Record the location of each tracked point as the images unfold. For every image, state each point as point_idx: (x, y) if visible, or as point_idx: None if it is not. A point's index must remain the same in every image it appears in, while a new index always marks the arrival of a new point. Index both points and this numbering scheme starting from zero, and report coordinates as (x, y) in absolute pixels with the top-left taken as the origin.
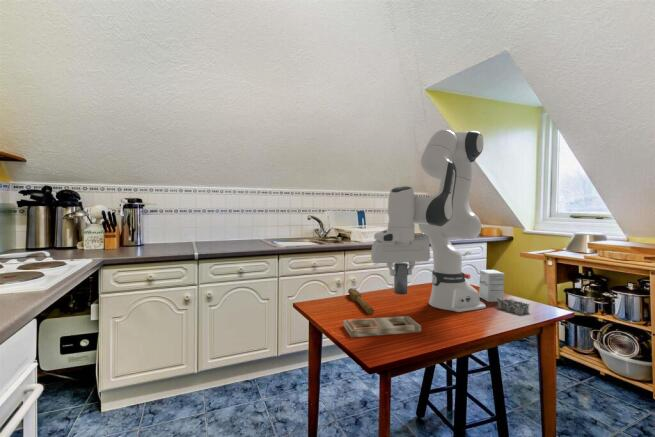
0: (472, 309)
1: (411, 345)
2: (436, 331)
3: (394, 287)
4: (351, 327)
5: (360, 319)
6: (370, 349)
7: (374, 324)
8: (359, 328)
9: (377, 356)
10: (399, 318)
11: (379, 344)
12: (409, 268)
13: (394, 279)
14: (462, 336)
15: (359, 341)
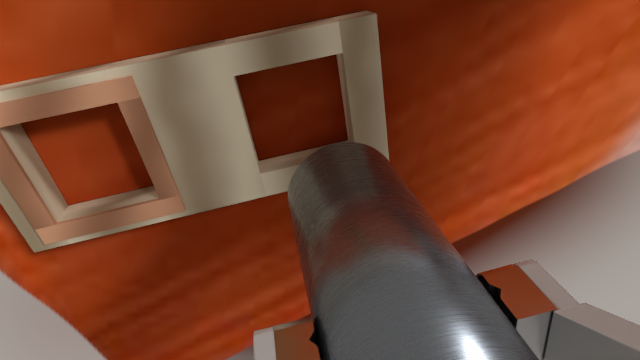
0: None
1: None
2: (447, 143)
3: (294, 229)
4: (23, 212)
5: (55, 104)
6: (147, 315)
7: (152, 176)
8: (73, 232)
9: (173, 350)
10: (311, 59)
11: (182, 278)
12: (563, 347)
13: (305, 283)
14: (516, 184)
15: (94, 265)
